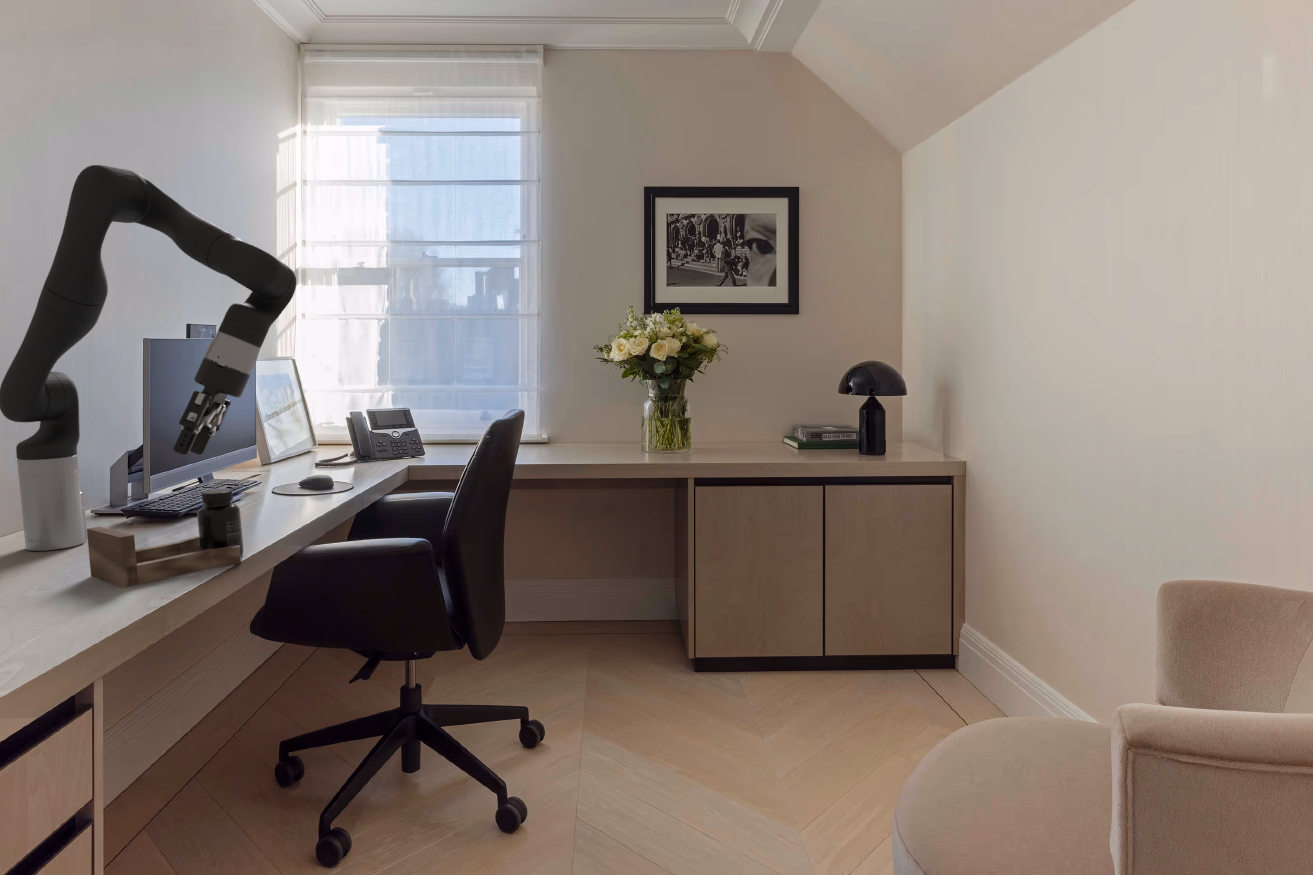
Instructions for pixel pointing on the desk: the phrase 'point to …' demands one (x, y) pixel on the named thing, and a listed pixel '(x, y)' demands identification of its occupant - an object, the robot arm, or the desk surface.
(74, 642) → the desk surface
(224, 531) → the supplement bottle
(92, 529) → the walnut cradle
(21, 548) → the desk surface
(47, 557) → the desk surface
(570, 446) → the desk surface
